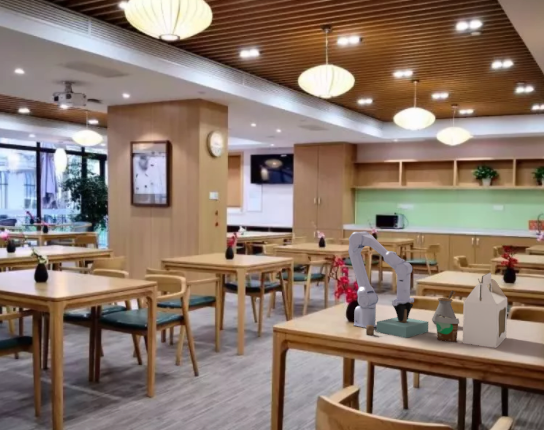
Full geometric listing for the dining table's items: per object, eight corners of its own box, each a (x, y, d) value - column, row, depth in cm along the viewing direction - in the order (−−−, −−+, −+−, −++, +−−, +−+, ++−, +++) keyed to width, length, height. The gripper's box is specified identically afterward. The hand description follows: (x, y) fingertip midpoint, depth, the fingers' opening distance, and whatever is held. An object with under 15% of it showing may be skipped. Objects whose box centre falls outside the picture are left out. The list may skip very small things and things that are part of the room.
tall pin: (397, 327, 256) (398, 309, 256) (401, 326, 258) (402, 308, 258) (403, 328, 254) (404, 310, 253) (407, 327, 256) (408, 309, 256)
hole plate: (376, 331, 255) (376, 321, 255) (399, 326, 268) (399, 316, 267) (405, 337, 244) (406, 327, 244) (428, 331, 257) (428, 321, 257)
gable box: (474, 333, 255) (476, 270, 254) (506, 337, 248) (508, 273, 247) (462, 343, 236) (464, 275, 235) (496, 348, 229) (498, 278, 228)
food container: (428, 337, 246) (428, 314, 246) (440, 336, 248) (440, 313, 248) (446, 343, 235) (447, 319, 234) (458, 342, 237) (459, 318, 237)
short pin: (364, 334, 249) (364, 325, 249) (369, 333, 251) (369, 324, 251) (370, 335, 247) (370, 326, 247) (375, 334, 249) (375, 325, 249)
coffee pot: (454, 330, 261) (454, 297, 261) (428, 327, 267) (429, 294, 267) (464, 322, 279) (465, 291, 279) (440, 319, 285) (441, 289, 285)
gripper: (401, 292, 248) (401, 323, 248) (420, 289, 258) (419, 319, 258) (388, 290, 253) (387, 321, 253) (406, 287, 263) (406, 316, 263)
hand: (402, 320), depth 256 cm, fingers closed on tall pin, 3 cm apart
